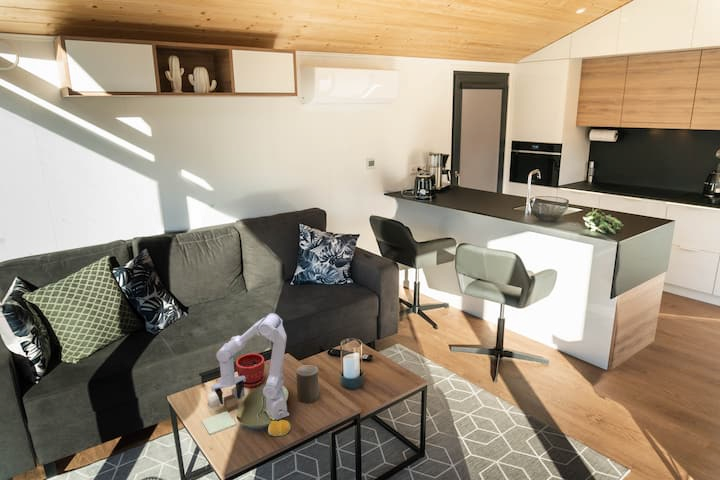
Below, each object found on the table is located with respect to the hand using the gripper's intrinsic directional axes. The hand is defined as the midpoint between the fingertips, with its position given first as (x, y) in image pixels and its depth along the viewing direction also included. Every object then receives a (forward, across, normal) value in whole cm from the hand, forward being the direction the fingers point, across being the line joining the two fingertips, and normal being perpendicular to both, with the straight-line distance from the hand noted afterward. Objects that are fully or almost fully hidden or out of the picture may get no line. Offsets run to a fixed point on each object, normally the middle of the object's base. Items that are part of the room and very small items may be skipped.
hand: (230, 400), depth 214 cm
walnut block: (+4, 0, 0) cm, 4 cm away
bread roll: (+4, -10, +26) cm, 29 cm away
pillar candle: (+4, -32, +13) cm, 34 cm away
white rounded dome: (+4, +5, -7) cm, 10 cm away
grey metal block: (+4, -6, -7) cm, 10 cm away
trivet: (+4, +8, +8) cm, 12 cm away
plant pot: (+4, -16, -14) cm, 22 cm away
